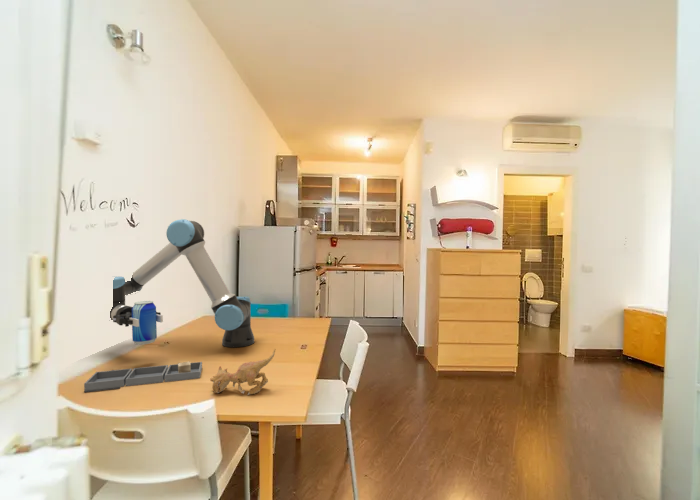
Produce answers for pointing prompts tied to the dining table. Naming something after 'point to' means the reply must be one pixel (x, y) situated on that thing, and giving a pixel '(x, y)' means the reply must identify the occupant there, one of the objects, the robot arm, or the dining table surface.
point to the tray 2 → (175, 376)
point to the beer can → (144, 322)
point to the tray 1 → (107, 380)
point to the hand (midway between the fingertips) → (150, 320)
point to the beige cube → (184, 367)
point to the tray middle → (146, 375)
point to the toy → (242, 376)
